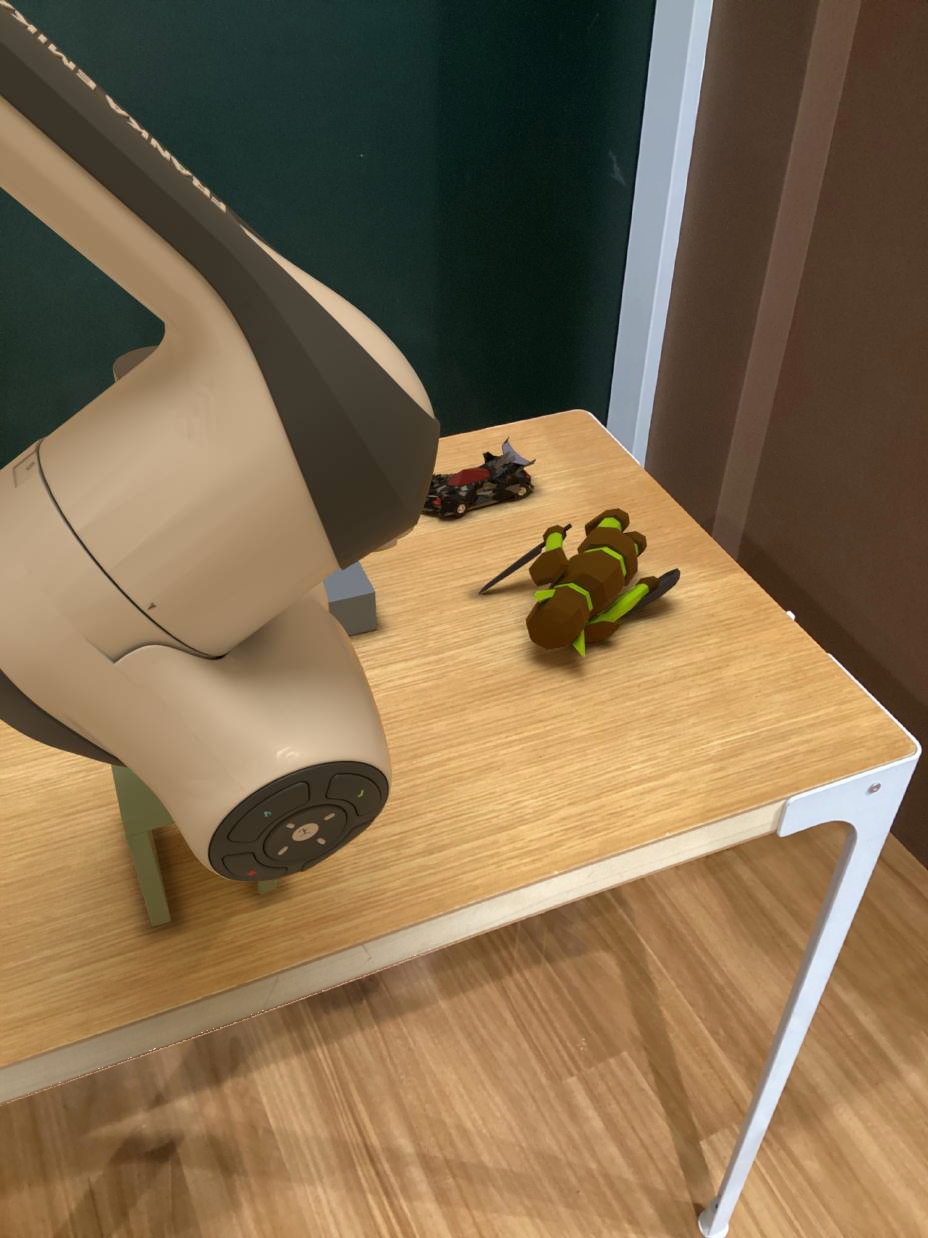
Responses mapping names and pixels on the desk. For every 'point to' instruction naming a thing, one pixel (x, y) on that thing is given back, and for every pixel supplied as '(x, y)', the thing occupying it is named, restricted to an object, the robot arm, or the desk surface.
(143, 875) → the sage green stool
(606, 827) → the desk surface
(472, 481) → the toy car
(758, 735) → the desk surface
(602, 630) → the goblin
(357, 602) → the low gray rectangular block
